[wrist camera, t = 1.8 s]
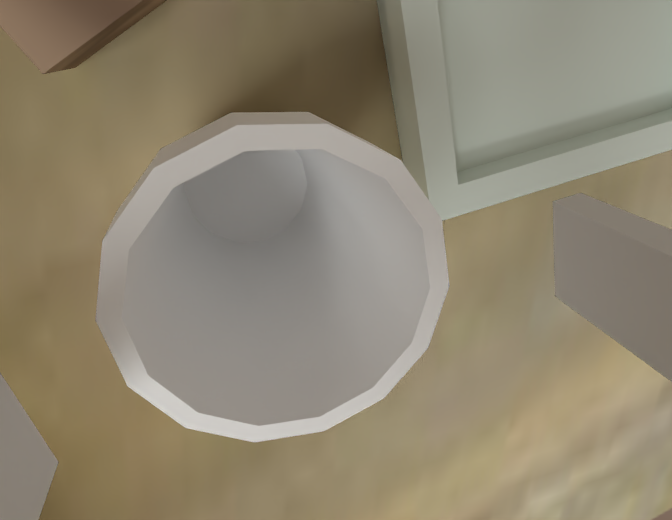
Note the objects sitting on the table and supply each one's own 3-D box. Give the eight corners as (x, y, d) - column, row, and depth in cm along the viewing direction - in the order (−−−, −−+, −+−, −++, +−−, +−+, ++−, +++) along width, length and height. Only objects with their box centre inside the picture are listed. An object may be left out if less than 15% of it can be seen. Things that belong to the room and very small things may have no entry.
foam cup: (157, 274, 26) (122, 463, 14) (132, 84, 22) (58, 127, 11) (336, 260, 28) (434, 413, 16) (340, 84, 24) (469, 121, 13)
